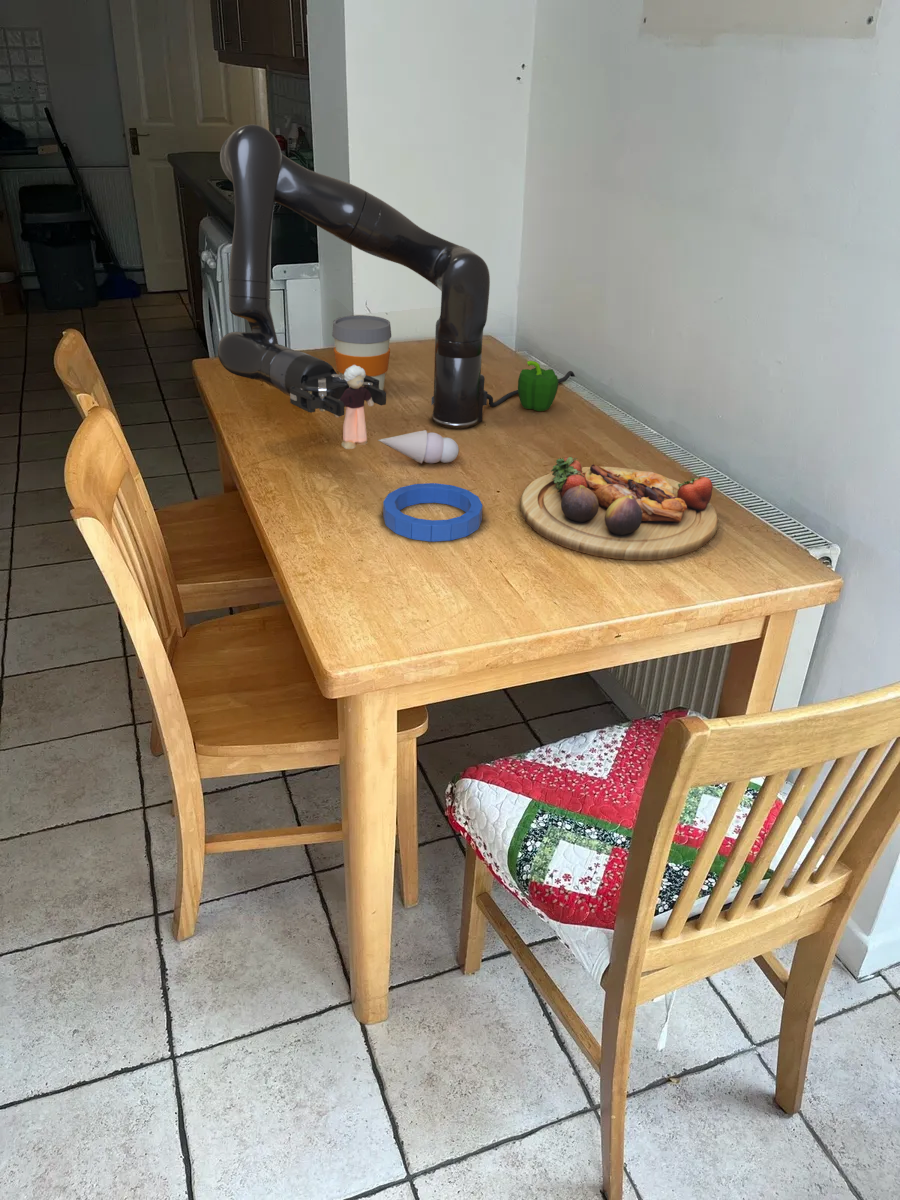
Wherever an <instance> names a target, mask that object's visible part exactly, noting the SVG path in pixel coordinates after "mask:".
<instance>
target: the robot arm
mask: <svg viewBox="0 0 900 1200" xmlns="http://www.w3.org/2000/svg"><path fill="white" fill-rule="evenodd" d="M281 149H282V148H281V147H280V144H279V141H278V140H277V138H276V137H275V135H274V134H273V133H272V132H271V131H270V130H269V129H267V128H266V127H264V126H262V125H259V124H253V123H252V124H251V123H250V124H245V125H242V126H240V127H238V128H237V129H236V130H233V132H232V133H230V135H228V137H227V138H226V139H225V140H224V141H223V143H222V145H221V148H220V152H219V162H220V167H221V169H222V171H223V173H224V174H225V176H226V178H227V179H228V180H229V181H230V182H231V183H232V185H233V193H234V195H233V196H234V225H233V235H232V243H231V249H230V257H229V269H228V272H229V273H228V308H229V311H230V313H231V314H232V315H233V316H235V317H238V318H240V319H244V320H246V321H247V323H248V325H249V327H250V332H246V331H230V332H228V333H226V334H224V335H223V336H222V337H221V339H220V340H219V342H218V344H217V357H218V360H219V362H220V364H221V366H223V368H224V370H226V371H228V372H229V373H231V374H233V375H236V376H238V377H241V378H246V379H250V380H254V381H259V382H263V383H265V384H267V385H268V386H271V387H273V388H275V389H277V390H279V391H280V392H281V393H283V394H284V395H286V396H288V397H289V403H290V404H291V405H294V406H296V407H297V408H299V409H301V410H303V411H305V412H307V413H311V414H312V413H315V412H316V410H319V411H320V412H329V413H331V414H332V415H334V414H335V415H337V416H340V417H343V416H345V407H344V403H343V402H342V401H340V398H341V396H342V395H343V393H344V391H345V390H346V389H348V388H349V385H348V383H347V381H346V380H345V376H342V375H340V374H339V373H337V372H336V370H335V368H334V367H333V366H332V364H330V363H329V362H328V361H325V360H323V359H320V358H318V357H316V356H313V355H311V354H308V353H306V352H303V351H300V350H295V349H292V348H290V347H288V346H285V345H282V344H279V341H278V336H277V332H276V327H275V324H274V319H273V314H272V309H271V290H272V289H271V286H272V285H271V284H272V283H271V280H272V265H271V264H272V230H273V217H274V208H275V203H277V204H278V205H280V206H281V205H282V206H283V207H286V209H287V208H288V209H289V210H292V211H293V212H295V213H297V214H298V215H299V216H301V217H303V218H304V219H306V220H307V221H309V222H311V223H312V224H314V225H315V226H317V227H319V228H320V229H322V230H323V231H325V232H327V233H329V234H331V235H332V236H334V237H336V238H337V239H339V240H341V241H343V242H344V243H346V244H349V245H350V246H352V247H354V248H356V249H358V250H360V251H362V252H364V253H366V254H369V255H372V256H374V257H376V258H379V259H382V260H385V261H389V262H392V263H394V264H395V263H396V264H399V265H401V266H404V267H406V268H407V269H409V270H411V271H413V272H414V273H415V274H418V276H421V277H422V278H423V279H425V280H426V281H428V282H429V283H431V284H432V285H434V286H435V287H436V288H438V290H439V291H440V292H441V294H440V295H441V297H440V312H439V313H440V314H439V318H438V319H437V320H436V322H435V337H434V339H435V340H434V368H433V369H434V370H433V371H434V373H433V396H431V406H432V405H433V409H432V422H433V423H434V424H435V425H437V426H439V427H442V428H447V429H456V430H457V429H459V430H460V429H469V428H472V427H475V426H476V425H478V424H479V423H482V422H483V415H484V413H483V412H484V406H487V404H488V405H489V407H491V408H495V407H498V406H499V405H500V404H502V403H505V401H507V400H508V399H510V398H512V397H515V396H517V395H519V393H518V389H516V390H513V391H511V392H508V393H506V394H504V395H503V396H502V397H500V398H499V399H498V400H497V401H494V398H493V396H492V395H491V394H490V393H488V391H487V390H485V379H486V378H485V376H484V374H482V355H483V339H484V329H485V326H486V324H487V321H488V311H489V301H490V288H491V287H490V286H491V276H490V275H491V274H490V269H489V267H488V264H487V263H486V261H485V260H484V259H483V258H482V257H481V256H480V255H479V254H477V253H475V252H473V251H472V250H471V249H470V248H467V247H465V246H463V245H459V244H456V243H454V242H451V241H449V240H446V239H444V238H442V237H440V236H437V235H435V234H433V233H431V232H429V231H427V230H425V229H423V228H422V227H420V226H418V225H417V224H416V223H414V221H412V220H411V219H409V218H408V217H407V216H406V215H404V214H403V213H402V212H401V211H399V210H397V209H396V208H395V207H393V206H391V205H390V204H389V203H387V202H386V201H384V200H382V199H381V198H379V197H377V196H375V195H374V194H372V193H370V192H369V191H366V190H365V189H363V188H361V187H359V186H356V185H355V184H353V183H349V182H346V181H344V180H342V179H338V178H335V177H332V176H329V175H326V174H323V173H319V172H316V171H313V170H311V169H308V168H307V167H304V166H302V165H300V164H299V163H297V162H295V161H294V160H292V159H291V158H289V157H287V156H286V155H284V154H283V153H282V150H281ZM570 377H572V378H574V377H576V375H575V373H574V372H573V370H569V371H567V372H566V374H565V375H564V376H563V377H560V378H558V384H562V383H563V382H566V381H568V379H569V378H570ZM361 387H364V388H366V389H367V390H368V391H369V392H370V393H371V397H372V401H373V402H374V404H377V405H379V406H385V405H387V391H385V390H384V389H383V390H380V389H379V380H378V379H375V378H373V377H370V376H367V375H366V376H365V378H364V382H363V385H362V386H361Z"/></svg>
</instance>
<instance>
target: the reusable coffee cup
mask: <svg viewBox="0 0 900 1200" xmlns="http://www.w3.org/2000/svg"><path fill="white" fill-rule="evenodd" d="M331 335H332V338H333V339H334V347H333V353H334V359H335V360H334V361H335V366H336V371H337V372H338V374H339V375H342V376H344V373H345V371H346V369H347V368H349V367H351V366H353V365H356V366H360V367H361V368H363V369H364V371H365V373H366V375H367V376H370V377H373V378H375V379H378V380H379V389H380V390H383V391H384V388H385V381H386V380H385V379H386V373H387V372H388V370H389V364H390V355H391V348H390V341H391V339H392V327H391V321H390V320H389V319H387V318H384V317H380V316H376V315H365V314H355V315H346V316H341V317H340V316H339V317H338V318H336V319H334V320H333V321H332V333H331ZM349 387H350V386H349Z"/></svg>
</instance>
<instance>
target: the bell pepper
mask: <svg viewBox="0 0 900 1200" xmlns="http://www.w3.org/2000/svg"><path fill="white" fill-rule="evenodd" d="M526 363H527V366H528V367H529V366H533V367H534V368H531V369H529V368H525V369H524V368H522V369H521V371H520V373H519V376H518V379H517V390H518V393H519V394H518V398H519V401H520V402H519V403H520V405H521V407H522V408H523V409H526V410H534V411H536V412H545V411H549V409H550V408H551V407H552V405H553V403H554V400H555V398H556V396H557V392H558V390H559V389H558V388H559V383H558V379H559V378H558V375H556V373H555V371H554V369H553V368H552V369H551V368H549V369H543V368H541V365H540V363H538V362H537V361H535V360H528V361H526Z"/></svg>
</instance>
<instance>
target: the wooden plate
mask: <svg viewBox="0 0 900 1200" xmlns="http://www.w3.org/2000/svg"><path fill="white" fill-rule="evenodd" d="M555 463H556V464H555V465H553V466H552V468H551V470H550V473H547V474H544V475H542V476H540V477H537V478H536V479H534V480H533V481H532V482H530V483H529V484H528V485H527V486H526V487H525V489H524V490H523V491H522V494H521V496H520V500H519V508H520V513H521V515H522V517H523V519H524V521H525V522H526V523H527V525H528V526H530V528H531V529H533V530H534V531H535V532H536V533H538V534H539V535H540V536H542V537H543V538H545V539H546V540H549V541H550V542H552V543H555V544H557V545H559V546H562V547H564V548H566V549H570V550H573V551H575V552H579V553H583V554H587V555H591V556H595V557H601V558H609V559H614V560H624V561H625V560H626V561H653V560H654V561H655V560H664V559H671V558H674V557H675V558H676V557H679V556H683V555H686V554H689V553H692V552H694V551H696V550H698V549H701V548H702V547H703V546H705V545H706V544H708V543H709V542H710V541H711V540H712V539H713V538H714V536H715V534H717V531H718V528H719V527H718V526H719V517H718V513H717V511H716V509H715V507H714V506H713V504H712V503H711V502H710V501H711V499H712V494H713V489H714V488H713V487H714V486H713V481H712V480H711V478H709V477H707V476H704V475H703V476H702V475H700V476H699V477H694V478H692V477H690V480H691V481H690V480H687V481H685V480H683V483H682V482H680V481H678V480H674V479H672V478H669V477H667V476H664V475H662V474H660V473H655V472H654V471H647V470H646V471H645V470H638V469H633V468H626V467H617V466H599V465H596V464H594V463H593V464H591V465H590V466H582V464H581V462H580V461H578V458H577V457H576V458H575V457H574V458H573V456H569V457H562V458H561V457H560V458H557V459H556V460H555Z"/></svg>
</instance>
